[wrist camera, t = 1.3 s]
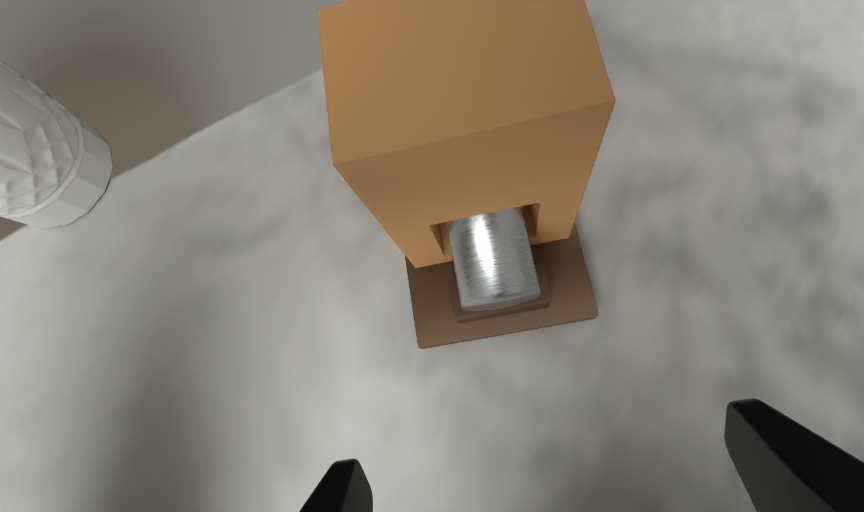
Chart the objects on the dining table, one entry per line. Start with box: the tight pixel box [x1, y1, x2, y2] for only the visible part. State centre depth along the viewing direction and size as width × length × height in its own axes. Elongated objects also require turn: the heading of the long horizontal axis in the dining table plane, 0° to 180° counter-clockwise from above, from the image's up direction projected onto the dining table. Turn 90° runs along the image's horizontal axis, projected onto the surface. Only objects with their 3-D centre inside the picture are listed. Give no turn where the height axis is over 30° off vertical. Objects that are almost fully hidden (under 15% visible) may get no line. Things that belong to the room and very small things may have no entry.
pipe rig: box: [405, 206, 598, 349], centre depth 22 cm, size 18×8×6 cm, turn 9°
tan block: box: [317, 0, 616, 268], centre depth 17 cm, size 5×7×10 cm
